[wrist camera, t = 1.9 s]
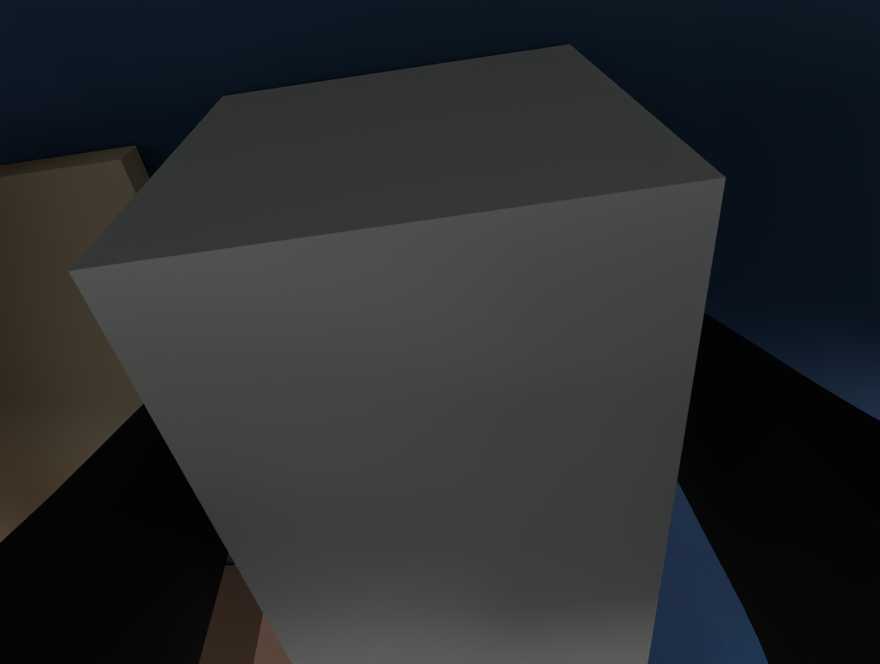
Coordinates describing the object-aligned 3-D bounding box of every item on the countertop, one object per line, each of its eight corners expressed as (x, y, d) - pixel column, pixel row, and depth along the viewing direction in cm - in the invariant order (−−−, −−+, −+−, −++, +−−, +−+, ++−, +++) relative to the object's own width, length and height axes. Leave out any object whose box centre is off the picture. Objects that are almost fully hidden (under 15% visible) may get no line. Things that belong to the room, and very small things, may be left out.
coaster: (135, 145, 9) (120, 159, 8) (284, 490, 14) (280, 512, 13) (-375, 220, 9) (-418, 238, 9) (-56, 535, 14) (-72, 558, 13)
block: (222, 96, 9) (68, 270, 5) (569, 44, 8) (725, 177, 4) (354, 496, 14) (336, 741, 10) (569, 468, 14) (640, 706, 10)
